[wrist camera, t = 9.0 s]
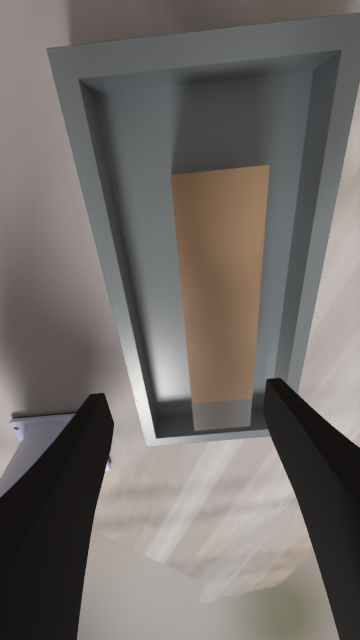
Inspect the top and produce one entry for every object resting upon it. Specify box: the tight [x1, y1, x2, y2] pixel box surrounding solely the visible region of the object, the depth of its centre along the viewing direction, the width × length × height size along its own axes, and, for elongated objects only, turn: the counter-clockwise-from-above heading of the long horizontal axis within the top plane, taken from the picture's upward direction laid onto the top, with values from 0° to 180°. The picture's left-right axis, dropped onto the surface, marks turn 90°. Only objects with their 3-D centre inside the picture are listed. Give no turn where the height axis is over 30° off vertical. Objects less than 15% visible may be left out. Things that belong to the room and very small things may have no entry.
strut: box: [170, 165, 270, 431], centre depth 16 cm, size 4×16×5 cm, turn 5°
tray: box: [46, 13, 360, 446], centre depth 18 cm, size 26×13×3 cm, turn 5°
